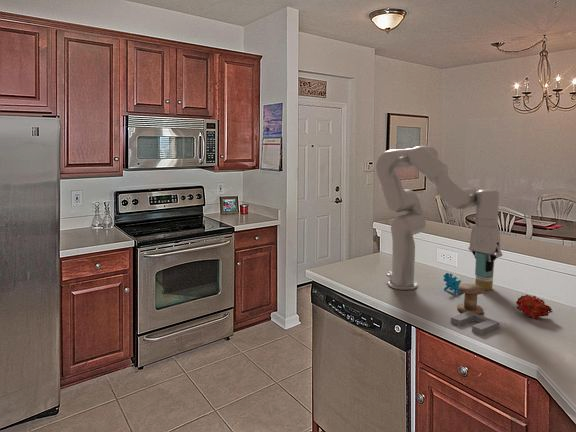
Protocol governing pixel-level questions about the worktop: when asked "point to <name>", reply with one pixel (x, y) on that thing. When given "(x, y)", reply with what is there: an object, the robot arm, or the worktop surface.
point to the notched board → (483, 322)
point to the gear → (452, 283)
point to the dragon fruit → (533, 306)
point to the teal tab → (481, 265)
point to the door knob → (470, 298)
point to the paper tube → (485, 281)
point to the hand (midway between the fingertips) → (484, 269)
